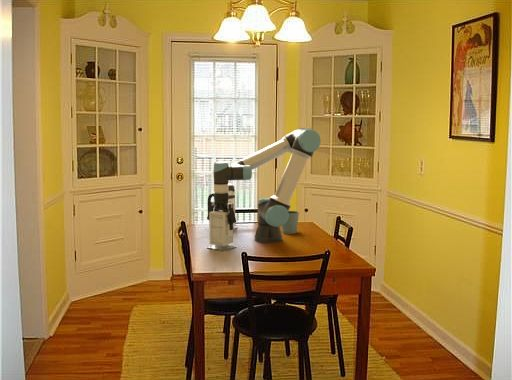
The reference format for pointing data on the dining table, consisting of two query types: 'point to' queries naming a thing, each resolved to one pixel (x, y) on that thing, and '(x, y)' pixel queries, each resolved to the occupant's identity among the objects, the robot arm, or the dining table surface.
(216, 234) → the supplement box
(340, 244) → the dining table surface
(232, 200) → the coffee press
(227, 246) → the trivet
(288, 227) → the drinking glass
